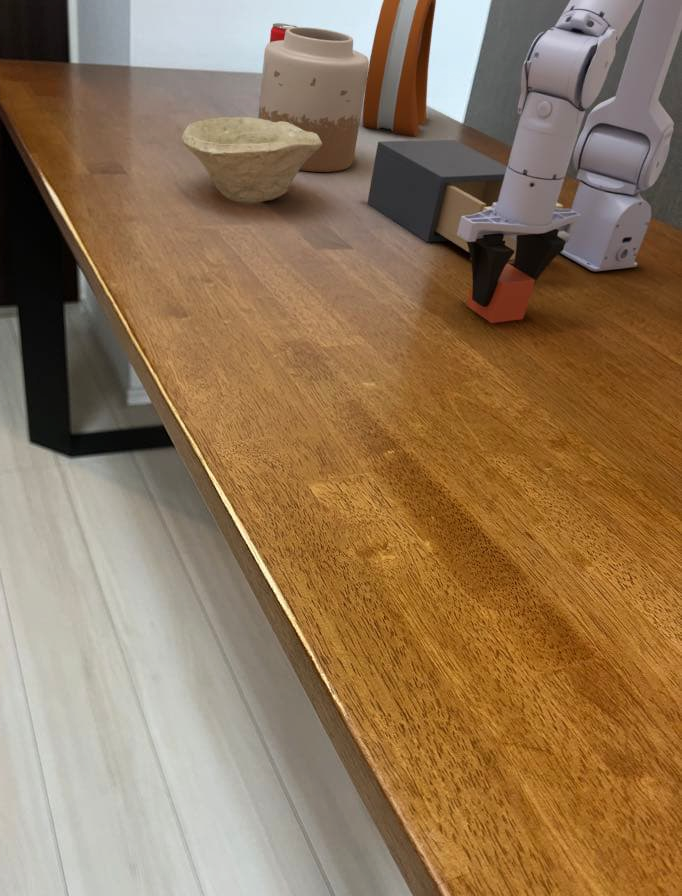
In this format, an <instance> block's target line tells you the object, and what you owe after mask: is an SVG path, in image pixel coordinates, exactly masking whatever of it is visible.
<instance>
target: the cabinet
mask: <svg viewBox="0 0 682 896" xmlns="http://www.w3.org/2000/svg"><path fill="white" fill-rule="evenodd" d="M506 169H507V166H506V165H505V164H503V163H501V162H499V161H497V160H495V159H493V158H490V157H489V156H487V155H485V154H482V153H480V152H478V151H476V150H474V149H473V148H471V147H468V146H466V145H464V144H462V143H460V142H458V141H457V140H454V139H436V140H435V139H431V140H429V139H427V140H389V141H388V140H387V141H385V140H384V141H382V140H381V141H378V142H377V146H376V151H375V157H374V162H373V169H372V174H371V179H370V186H369V191H368V197H367V204H368V205H369V206H371V207H372V208H374V209H375V210H377V211H379V213H381V214H383V215H384V216H386V217H387V218H389V219H390V220H391V221H393V222H395V223H396V224H398V225H400V226H401V227H403V228H404V229H406V230H407V231H408V232H410V233H412V234H414V235H415V236H417V237H418V238H420V239H421V240H422V241H424V242H426V243H428V244H429V243H438V242H439V243H440V242H451V241H450V240H449V239H447V238H445V237H444V236H442V235H441V234H439V233H437V232H436V231H435V227H436V223H437V218H438V214H439V210H440V205H441V201H442V197H443V192H444V188H445V183H461V182H482V181H503V180H504V176H505V173H506Z"/></svg>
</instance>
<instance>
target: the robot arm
mask: <svg viewBox="0 0 682 896" xmlns="http://www.w3.org/2000/svg"><path fill="white" fill-rule="evenodd" d="M642 1H643V0H569V2H568V4H567V5H566V7H565V8H564V10H563V12H562V13H561V15H560V17H559V19H558V20H557V22H556V24H555V25H554V27H550V28H549V29H548V30H547V31H541V32H540V33H538V34H537V36H536V37H535V38H534V40H533V42H532V43H531V45H530V47H529V50H528V51H527V54H526V58H525V60H524V62H523V65H522V69H521V75H520V94H519V95H520V96H519V99H518V104H517V106H516V107H517V114H518V115H519V116H520V117H519V120H518V124H517V128H516V131H515V132H516V133H515V136H514V139H513V143H512V147H511V150H510V154H509V157H508V162H507V169H506V173H505V176H504V180H503V184H502V187H501V191H500V195H499V198H498V202H495V203H493V205H492V208H491V209H488V210H485V211H482V212H479V213H476V214H473V215H467V216H461V220H460V224H459V228H458V232H457V235H458V236H459V237H461V238H463V239H464V240H466V242H467V245H468V248H469V252H468V253H469V256H470V262H471V263H470V264H471V273H472V283H473V289H472V300H474V301H475V302H476V303H478V304H479V305H481V306H482V307H486V306H488V305H489V303H490V301H491V299H492V297H493V295H494V292H495V289H496V286H497V283H498V280H499V277H500V275H501V273H502V271H503V269H504V267H505V265H506V264H508V262H509V261H510V260H509V259H510V258H511V256H512V255H513V254H514V252H515V251H514V250H513V249H511V248H509V247H508V246H506V245H505V241H503V238H504V236H513V235H517V241H516V254H515V259H514V262H513V265H512V266H513V267H515V268H517V269H518V270H520V271H521V272H523V273H525V274H526V275H528V276H529V277H531V278H533V279H534V280H535V283H534V285H535V284H536V282H537V281H538V280H539V278H540V276H542V274H543V272H544V271H545V270H546V269H547V267H548V266H549V265H550V264H551V263H552V261H554V259H555V258H556V257H557V256H558V255H560V254H561V255H563V257H564V256H565V257H566V258H568V259H570V260H572V262H573V261H574V262H575V263H577V264H579V265H580V266H582V267H584V268H586V269H588V270H589V271H591V272H603V271H612V270H622V269H631V268H636V267H638V262H636V258H637V256H638V253H639V251H640V248H641V245H642V244H643V240H644V238H645V235H646V232H647V231H648V228H649V225H650V223H651V219H652V207H651V204H649V202H648V201H646V200H645V199H643V198H642V196H641V193H640V192H645V191H647V190H648V189H650V188H651V187H653V185H654V184H655V183H656V181H657V180H658V178H659V176H660V174H661V172H662V171H663V169H664V166H665V164H666V161H667V158H668V156H669V155H668V154H669V151H670V143H671V139H672V136H673V132H674V125H675V123H674V121H673V119H672V117H671V116H670V114H668V113H667V111H666V109H665V108H664V107H663V105H662V104H661V102H660V100H659V98H660V95H661V93H662V90H663V86H664V83H665V80H666V77H667V74H668V72H669V69H670V65H671V62H672V59H673V56H674V54H675V50H676V47H677V44H678V41H679V38H680V35H681V34H682V33H681V32H682V0H644V1H643V3H642ZM641 3H642V4H643V5H642V8H641V11H640V14H639V18H638V20H637V24H636V27H635V31H634V34H633V37H632V41H631V44H630V47H629V50H628V53H627V56H626V60H625V63H624V67H623V70H622V74H621V77H620V80H619V83H618V86H617V90H616V93H615V96H612V97H611V98H608V99H605V100H604V101H602V102H600V103H598V104H597V105H596V106H595V107H594V108H593V109H592V110H591V111H590V112H589V113H588V115H587V118H586V121H585V123H584V126H583V128H582V131H581V132H580V130H581V127H582V124H583V120H584V118H585V114H586V111H587V109H589V108H590V107H591V106H592V105H593V103H594V102H595V101H596V99H597V98H598V96H599V95H600V93H601V91H602V89H603V86H604V84H605V81H606V79H607V76H608V73H609V70H610V67H611V66H612V63H613V62H614V59H615V57H616V45H617V43H618V42H619V40H620V38H621V37H622V35H623V33H624V32H625V30H626V29H627V26H628V25H629V23H630V21H631V20H632V18H633V16H634V15H635V13H636V12H637V10H638V9H639V6H640V4H641ZM579 133H580V134H579ZM578 136H579V137H578ZM572 155H573V156H572ZM571 159H572V164H573V169H574V171H575V172H577V175H576V180H579V183H578V186H577V189H576V192H575V195H574V199H573V201H572V204H571V208H562V209H555V207H556V204H557V203H558V201H559V198H560V194H561V191H562V188H563V184H564V181H565V178H566V175H567V173H568V168H569V165H570V163H571V162H570V161H571ZM561 231H565V232H566V233H569V241H568V242H567V243H566V241H565V240H564V239H562V238H560V237H558V236H557V235H558V232H561ZM565 243H566V244H565Z"/></svg>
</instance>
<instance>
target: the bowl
mask: <svg viewBox="0 0 682 896" xmlns="http://www.w3.org/2000/svg"><path fill="white" fill-rule="evenodd" d="M181 143H182V144H183V145H184V146H185V147H186V148H187V149H188V150H189V151H190V152H191V153H192V154H193V155H194V156H195V157H196V158H198V160H199V161H200V163H201V165H202V166H203V167H204V169H205V170H206V171H207V173H208V176H209V177H210V178H211V180H212V182H213V184H214V185H215V187H216V189H217V190H218V192H220V193H221V195H222V196H224V197H225V198H227V199H229V200H231V201H233V202H235V203H239V204H243V205H251V204H259V203H262V202H267V201H273V200H276V199H278V198H279V197H281V196H283V195H285V194H286V193H287V192H288V191H289V190H290V188H291V187H292V185H293V182H294V179H295V177H296V176H297V174H298V173H299V171H300V170H299V169H300V168H301V166H302V165H303V163H304V162H305V161H306V160H307V159H308V158H309V157H310V156H311V155H312V154H313V153H314V152H315V151H316V150H318V149H319V148H320V147H321V145H322V142H321V140H320V138H319V136H318V135H317V134H316V133H313V132H307V131H304V130H302V129H300V128H298V127H296V126H295V125H292V124H290V123H288V122H284V121H279V122H272V121H269V120H264V119H259V118H258V117H253V116H252V117H251V116H234V117H233V116H231V117H229V116H223V117H215V118H207V119H202V120H197V121H194V122H191V123H190V124H188V126H187V127H186V128H185V129H184V132H183V133H182V136H181Z"/></svg>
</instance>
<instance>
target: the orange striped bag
mask: <svg viewBox="0 0 682 896" xmlns="http://www.w3.org/2000/svg"><path fill="white" fill-rule="evenodd" d="M436 4H437V0H382V3H381V7H380V12H379V15H378V19H377V23H376V26H375V27H376V28H375V32H374V37H373V43H372V48H371V52H370V58H369V66H368V74H367V80H366V86H365V92H364V98H363V105H362V127H364V128H367V129H373V130H379V129H380V128H383V129H386V130H387V129H388V130H390V131H391V132H392V133H394V134H400V135H404V136H411V137H417V136H418V135H419V133H420V126H419V125H424V124H425V122H426V121H427V103H428V102H427V99H428V80H429V79H428V78H429V65H430V54H431V46H432V45H431V44H432V36H433V28H434V27H433V26H434V20H435V11H436Z"/></svg>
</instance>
